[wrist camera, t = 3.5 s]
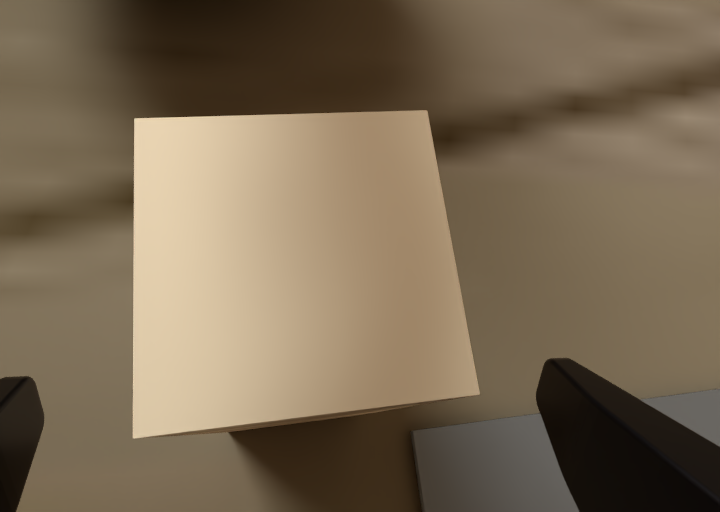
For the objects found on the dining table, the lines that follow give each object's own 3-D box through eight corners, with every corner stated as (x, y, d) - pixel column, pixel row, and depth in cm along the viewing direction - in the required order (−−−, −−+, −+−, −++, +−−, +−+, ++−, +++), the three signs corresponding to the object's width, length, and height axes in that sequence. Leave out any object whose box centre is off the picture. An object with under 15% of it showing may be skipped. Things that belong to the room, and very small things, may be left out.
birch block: (228, 431, 18) (132, 438, 6) (222, 302, 19) (134, 118, 8) (359, 415, 18) (480, 394, 7) (344, 291, 20) (427, 109, 8)
